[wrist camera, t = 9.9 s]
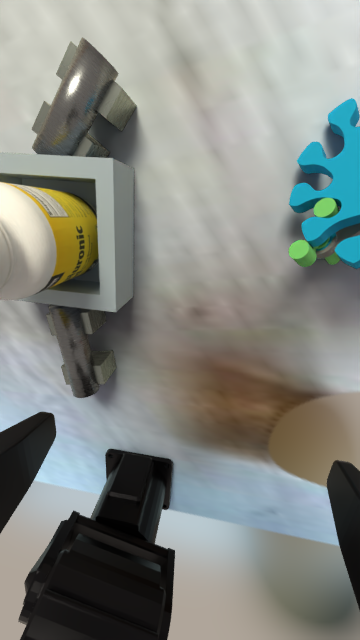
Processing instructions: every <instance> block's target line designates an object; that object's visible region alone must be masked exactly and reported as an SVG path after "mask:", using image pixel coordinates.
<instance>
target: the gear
mask: <svg viewBox="0 0 360 640" xmlns="http://www.w3.org/2000/svg"><path fill="white" fill-rule="evenodd" d="M358 120H359V111H358V107H357V103H356V101H355V100H354V99H352V98H351V99H349V100H347V101H345V102H344V103H342V104H341V105H339V106H338V107H337V108H335V109H334V110H333V111H332V112H330V113H329V115H328V121H329V123H330V126H331V129H332V131H333V132H334V133H335V134H338V135H340V136H342V137H343V138H344V148H343V150H342V152H341V153H340V154H339V155H337V156H336V157H334V158H330V159H327V158H326V154H325V152H324V150H323V147H322V145H321V144H320V143H319V142H312V143H310V144H309V145H308V146H307V147H306V149H305V150H304V151H303V152H302V154H301V155H300V157H299V158H298V160H297V162H298V164H299V165H300V167H301V169H302V171H303V172H304V173H306V174H311V173H322V174H325V175H328V176H329V177H331V178H332V179H333V181H332V183H331V184H330V185H329V186H328V187H327V188H325V189H323V190H320V191H316V190H314V189H313V188H312V187H311V186H310V185H309V184H307V183H299V184H297V185H295V186H294V188H293V190H292V193H291V197H290V202H289V205H290V206H291V207H292V209H293V210H294V211H295V212H297V213H303V212H306V211H308V210H309V209H312V208H314V214H315V216H316V217H311V218H308V219H306V220H305V221H304V222H303V223H302V232H303V234H304V237H305V238H306V239H305V240H298V241H295V242H294V243H293V244H292V245H291V246H290V248H289V255H290V257H292V258H293V259H294V260H295V261H296V262H297V263H298V264H299V265H300V266H302V267H308V266H310V265H312V264H313V263H314V262H315V260H316V258H318V259H322V258H325V260H326V261H327V262H328V263H329V264H331V265H334V264H337V263H338V262H339V260H340V259H341V260H342V261H343V262H344V263H345V264H347V265H349V266H351V267H353V268H356V269H357V268H360V127H355V126H356V124H357V122H358ZM338 206H340V207H341V210H339V208H338Z"/></svg>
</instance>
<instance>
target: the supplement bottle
mask: <svg viewBox="0 0 360 640" xmlns="http://www.w3.org/2000/svg"><path fill="white" fill-rule="evenodd" d="M98 263H99V253H98V229H97V210H96V209H95V208H94V207H93V206H92V205H91V204H90V203H89V202H88V201H86V200H85V199H83V198H82V197H80V196H78V195H76V194H73V193H69V192H65V191H58V190H51V189H45V188H38V187H31V186H24V185H16V184H10V183H4V182H0V300H18V299H23V298H26V297H29V296H32V295H34V294H37V293H40V292H42V291H44V290H46V289H48V288H51V287H53V286H56V285H58V284H60V283H63V282H65V281H67V280H70V279H72V278H75V277H77V276H79V275H82V274H84V273H86V272H88V271H90V270H91V269H93V268H94V267H95V266H96V265H97V264H98Z"/></svg>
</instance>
